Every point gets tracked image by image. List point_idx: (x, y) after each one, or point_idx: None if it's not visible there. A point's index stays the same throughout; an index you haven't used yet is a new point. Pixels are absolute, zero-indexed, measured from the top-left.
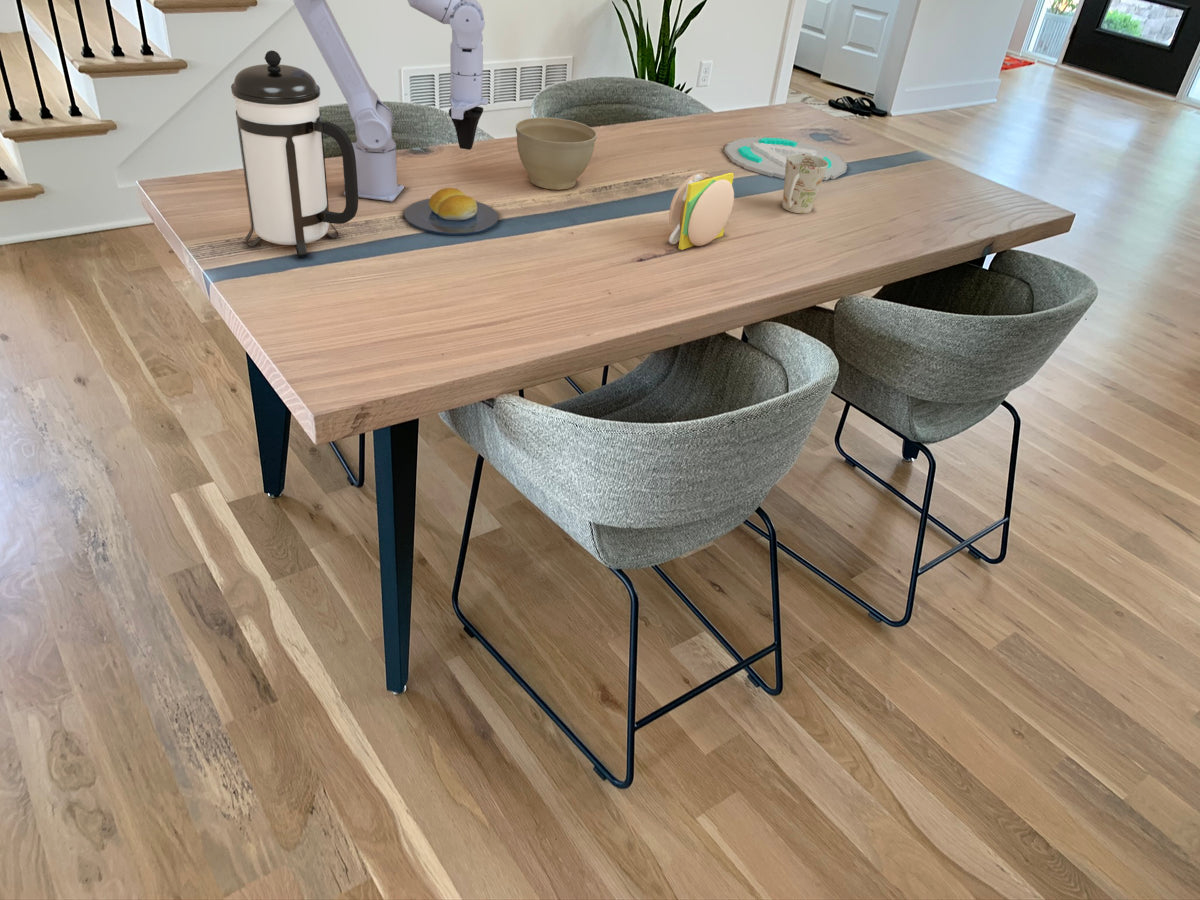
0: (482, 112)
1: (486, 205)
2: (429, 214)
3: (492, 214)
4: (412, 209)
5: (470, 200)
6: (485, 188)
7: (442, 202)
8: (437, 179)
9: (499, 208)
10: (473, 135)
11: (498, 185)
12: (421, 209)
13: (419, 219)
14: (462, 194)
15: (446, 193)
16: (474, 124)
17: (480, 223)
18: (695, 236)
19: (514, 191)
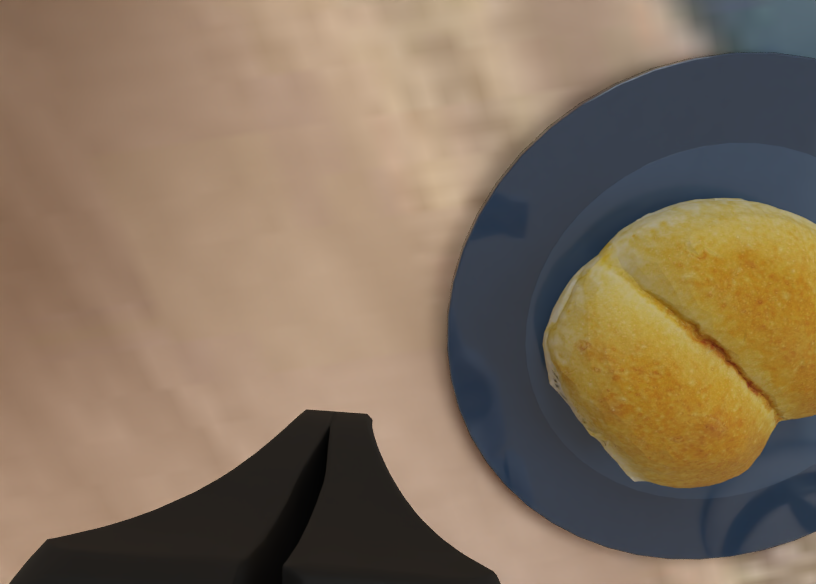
0: (69, 542)
1: (525, 159)
2: None
3: (672, 98)
4: (676, 531)
5: (786, 253)
6: (190, 211)
7: (793, 415)
8: (157, 488)
9: (506, 73)
10: (355, 463)
11: (103, 137)
12: (671, 492)
13: (810, 478)
14: (659, 321)
15: (741, 419)
16: (446, 545)
17: None
18: None
19: (168, 13)
